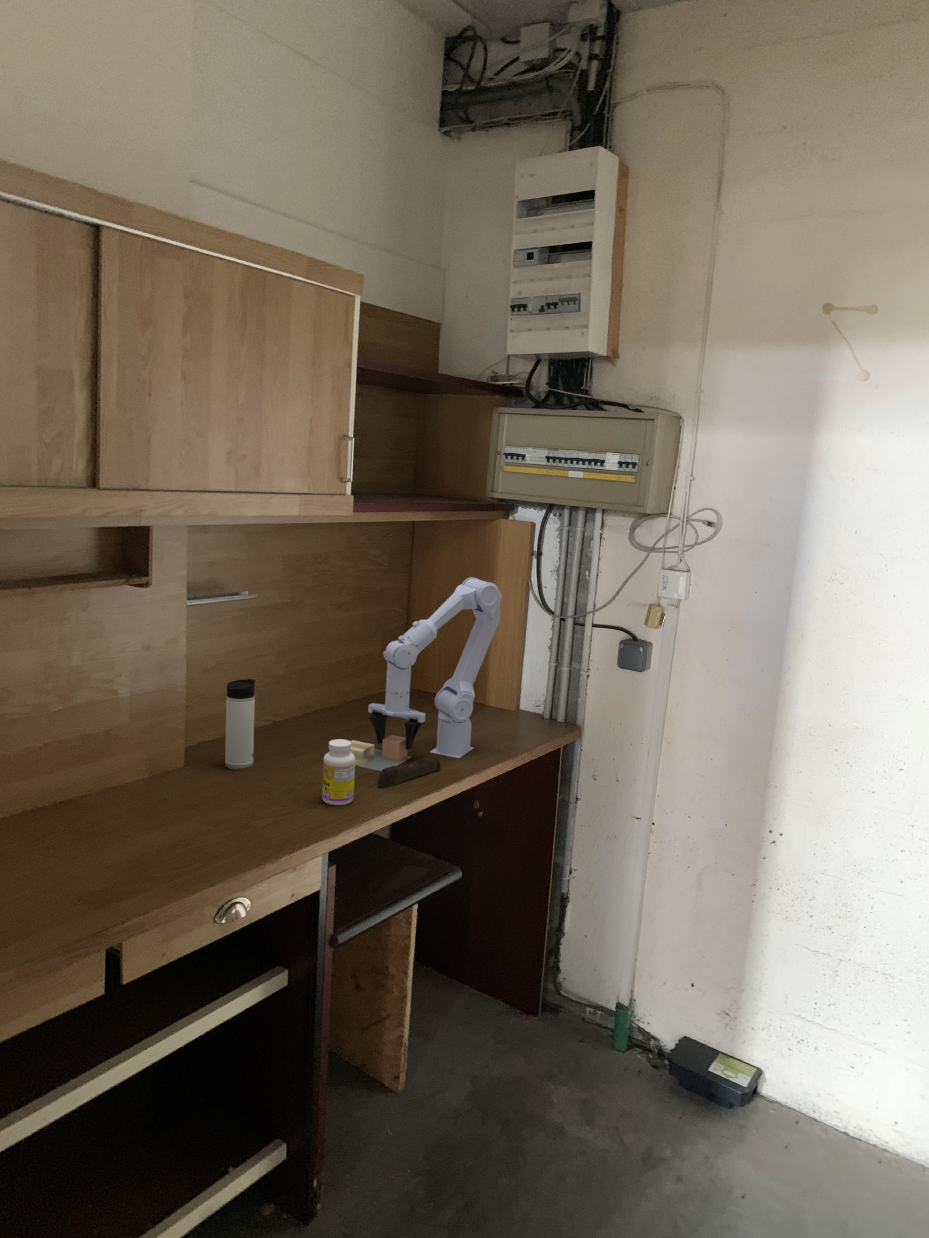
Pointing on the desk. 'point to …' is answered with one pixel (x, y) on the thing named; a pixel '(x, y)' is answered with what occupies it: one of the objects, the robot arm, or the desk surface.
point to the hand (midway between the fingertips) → (394, 745)
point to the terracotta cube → (394, 748)
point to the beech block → (362, 752)
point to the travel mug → (240, 724)
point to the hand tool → (407, 771)
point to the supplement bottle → (338, 773)
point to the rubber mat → (382, 761)
